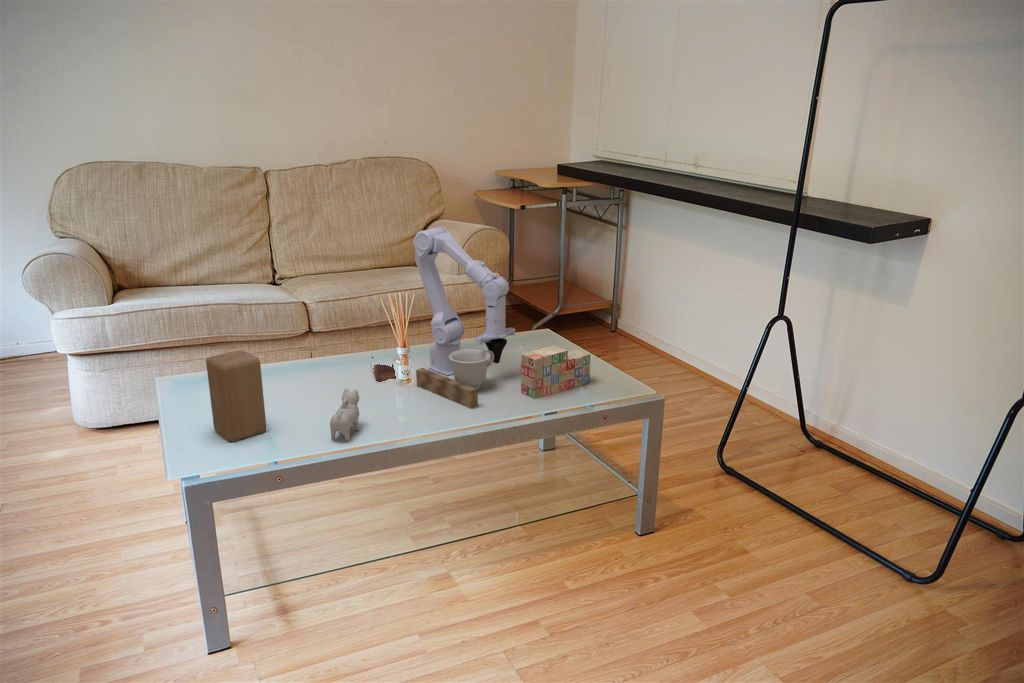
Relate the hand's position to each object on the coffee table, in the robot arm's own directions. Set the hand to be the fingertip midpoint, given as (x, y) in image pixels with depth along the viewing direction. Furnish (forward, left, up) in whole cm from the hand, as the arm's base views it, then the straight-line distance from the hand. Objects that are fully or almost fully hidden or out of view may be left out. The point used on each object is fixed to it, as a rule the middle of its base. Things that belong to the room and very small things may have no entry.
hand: (495, 362), depth 233 cm
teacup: (0, -9, -6) cm, 10 cm away
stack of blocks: (+17, +8, -6) cm, 20 cm away
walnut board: (0, -19, -5) cm, 20 cm away
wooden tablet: (-31, -17, -6) cm, 36 cm away
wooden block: (-17, -73, -6) cm, 75 cm away
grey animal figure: (+2, -54, -6) cm, 54 cm away
